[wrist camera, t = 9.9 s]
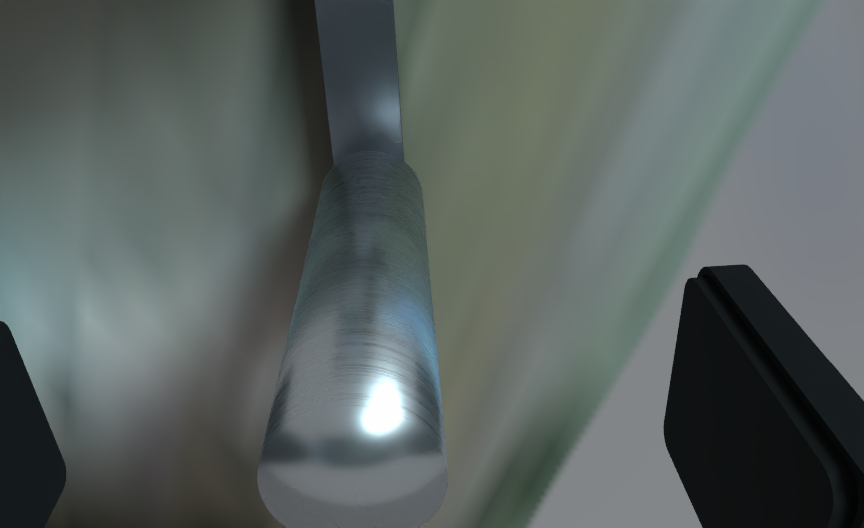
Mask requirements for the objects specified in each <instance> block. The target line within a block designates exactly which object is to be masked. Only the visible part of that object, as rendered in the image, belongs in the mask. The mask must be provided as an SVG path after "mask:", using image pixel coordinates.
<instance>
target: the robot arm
mask: <svg viewBox="0 0 864 528" xmlns="http://www.w3.org/2000/svg"><path fill="white" fill-rule="evenodd" d="M664 438H665V443H666V447H667V450H668V452H669V454H670V457H671V459H672V461H673V463H674V465H675V468H676V470H677V472H678V474H679V477H680V479H681V481H682V483H683V485H684V488H685V490H686V492H687V494H688V496H689V499H690V501H691V503H692V505H693V507H694V510H695V512H696V514H697V516H698V518H699V521H700V523H701V525H702V527H703V528H864V401H863V400H862V399H861V398H860V396H859V395H858V394H857V393H856V392H855V390H854V389H853V388H852V387H851V386H850V384H849V383H848V382H847V381H846V380H845V379H844V377H843V376H842V375H841V374H840V373H839V371H838V370H837V369H836V368H835V367H834V366H833V364H832V363H831V362H830V361H829V360H828V359H827V358H826V357H825V356H824V354H823V353H822V352H821V351H820V350H819V348H818V347H817V346H816V345H815V344H814V343H813V342H812V340H811V339H810V338H809V337H808V335H807V334H806V333H805V332H804V331H803V330H802V328H801V327H800V326H799V325H798V324H797V322H796V321H795V320H794V319H793V318H792V317H791V315H790V314H789V313H788V312H787V311H786V309H785V308H784V307H783V306H782V305H781V303H780V302H779V301H778V300H777V299H776V297H775V296H774V295H773V294H772V293H771V292H770V291H769V289H768V288H767V287H766V286H765V285H764V283H763V282H762V281H761V280H760V279H759V277H758V276H757V275H756V274H755V273H754V271H753V270H752V269H751V268H750V267H748V266H747V265H727V266H712V267H711V266H710V267H703V268H702V269H701V270H700V272H699V274H698V277H697V278H690V279H688V280H687V282H686V285H685V289H684V295H683V303H682V309H681V315H680V322H679V328H678V335H677V341H676V348H675V354H674V361H673V367H672V374H671V381H670V387H669V394H668V400H667V406H666V413H665V419H664ZM65 481H66V466H65V463H64V460H63V458H62V455H61V453H60V450H59V448H58V445H57V443H56V440H55V438H54V436H53V433H52V431H51V428H50V426H49V423H48V421H47V419H46V416H45V414H44V411H43V409H42V406H41V404H40V401H39V399H38V397H37V394H36V392H35V389H34V387H33V384H32V382H31V379H30V377H29V375H28V372H27V370H26V367H25V365H24V362H23V360H22V358H21V355H20V353H19V350H18V348H17V345H16V343H15V340H14V338H13V336H12V333H11V331H10V329H9V327H8V326H7V325H6V324H5V323H4V322H2V321H0V528H44V526H45V524H46V522H47V520H48V518H49V516H50V514H51V513H52V511H53V509H54V507H55V505H56V503H57V501H58V499H59V497H60V495H61V493H62V491H63V488H64V486H65Z"/></svg>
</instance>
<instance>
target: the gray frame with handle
mask: <svg viewBox="0 0 864 528" xmlns="http://www.w3.org/2000/svg"><path fill="white" fill-rule="evenodd" d="M315 9H316V17H317V26H318V35H319V43H320V52H321V60H322V69H323V77H324V86H325V94H326V103H327V111H328V120H329V129H330V137H331V146H332V154H333V163H334V166H333V167H332V168H331V169H330V170H329V172H328V173H327V175H326V177H325V179H324V181H323V184H322V188H321V193H320V197H319V201H318V206H317V210H316V215H315V219H314V223H313V228H312V232H311V237H310V241H309V246H308V250H307V254H306V259H305V263H304V268H303V272H302V276H301V281H300V285H299V290H298V294H297V298H296V303H295V307H294V312H293V316H292V320H291V325H290V329H289V334H288V338H287V342H286V347H285V351H284V356H283V360H282V365H281V369H280V373H279V378H278V382H277V387H276V391H275V395H274V400H273V404H272V409H271V413H270V417H269V422H268V426H267V431H266V435H265V439H264V444H263V448H262V453H261V457H260V462H259V466H258V472H257V482H258V489H259V492H260V495H261V498H262V500H263V502H264V504H265V506H266V507H267V509H268V510H269V512H270V513H271V514H272V515H273V516H274V517H275V518H276V519H277V520H278V521H279V522H280V523H281V524H282V525H284V526H285V527H286V528H420V527H421V526H423V525H424V524H425V523H426V522H427V521H428V520H429V519H430V518H431V517H432V516H433V515H434V514H435V513H436V511H437V510H438V508H439V507H440V505H441V503H442V502H443V499H444V497H445V494H446V490H447V486H448V468H447V457H446V446H445V435H444V424H443V413H442V402H441V391H440V380H439V369H438V358H437V347H436V336H435V324H434V313H433V302H432V291H431V280H430V269H429V258H428V247H427V236H426V225H425V214H424V203H423V193H422V188H421V184H420V182H419V179H418V177H417V176H416V174H415V172H414V171H413V170H412V169H411V167H410V166H409V165H407V164H406V163H405V162H404V153H403V138H402V123H401V109H400V94H399V79H398V64H397V50H396V35H395V20H394V5H393V0H315Z"/></svg>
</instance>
